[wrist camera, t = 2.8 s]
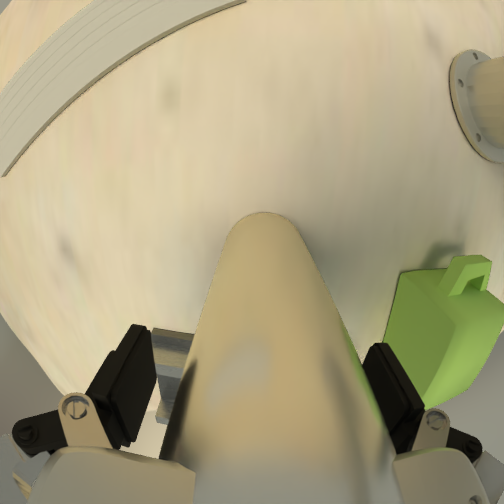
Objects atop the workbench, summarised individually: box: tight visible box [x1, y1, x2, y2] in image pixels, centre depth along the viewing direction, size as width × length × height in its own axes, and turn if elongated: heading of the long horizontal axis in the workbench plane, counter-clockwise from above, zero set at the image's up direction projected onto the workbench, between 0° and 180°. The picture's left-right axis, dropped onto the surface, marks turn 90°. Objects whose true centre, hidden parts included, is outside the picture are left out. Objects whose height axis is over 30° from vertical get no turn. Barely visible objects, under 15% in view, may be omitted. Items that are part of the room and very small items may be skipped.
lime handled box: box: [383, 255, 504, 410], centre depth 21 cm, size 18×10×10 cm, turn 2°
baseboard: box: [0, 0, 246, 178], centre depth 15 cm, size 31×3×12 cm
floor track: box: [151, 328, 194, 425], centre depth 26 cm, size 20×13×4 cm, turn 84°
